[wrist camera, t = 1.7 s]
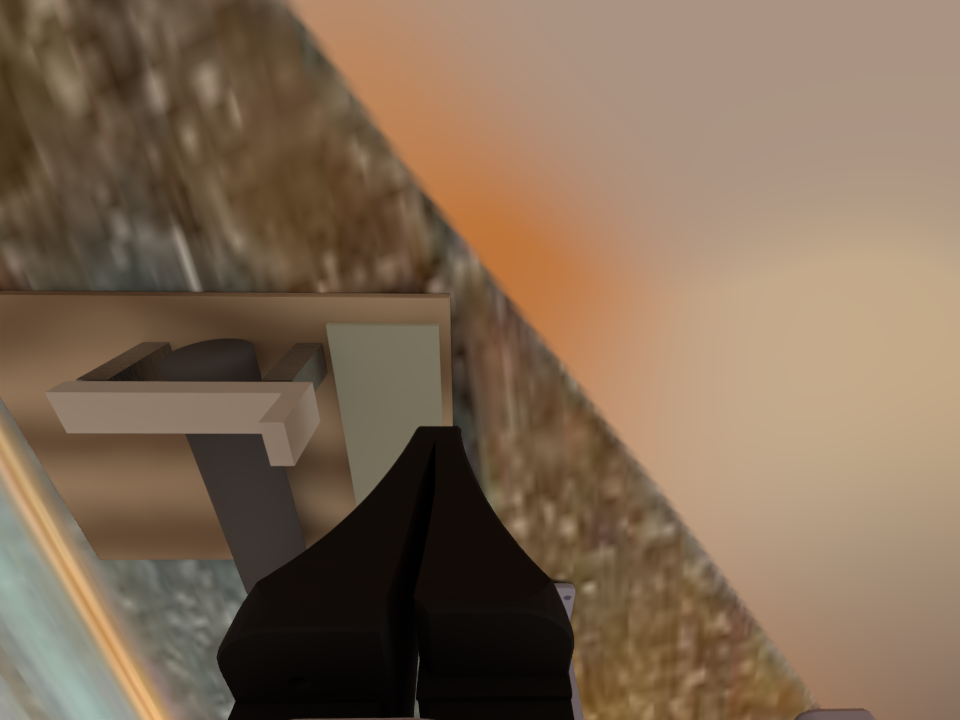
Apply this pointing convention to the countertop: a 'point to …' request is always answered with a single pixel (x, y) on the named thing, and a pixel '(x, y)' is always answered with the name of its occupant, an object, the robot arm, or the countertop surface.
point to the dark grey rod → (240, 466)
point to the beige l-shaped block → (194, 410)
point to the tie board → (281, 358)
